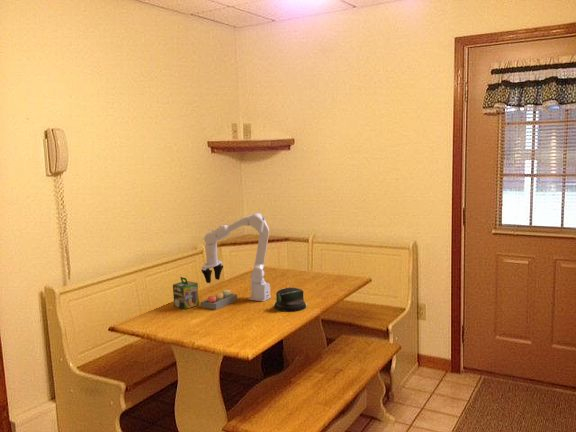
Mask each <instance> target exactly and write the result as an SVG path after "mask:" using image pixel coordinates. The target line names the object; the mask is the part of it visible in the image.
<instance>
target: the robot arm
mask: <svg viewBox="0 0 576 432" xmlns="http://www.w3.org/2000/svg"><path fill="white" fill-rule="evenodd" d="M243 226H247V227H249V226H250V227H252V228H253V229H255V230H256V231H257V232H258V234H259V235H258V243H257V249H256V254H255V261H254V265H253V269H252V272H251V273H250V277H249V278H250V291H251V292H250V293H251V294H250V295H251V296H250V297H248V298H247V299H248V300H251V301H256V302H257V301H259V302H265V301H267V300H269V299H271V298H272V296H271V285H270V283H269V282H266V279H265V278H264V277H265V274H266V272H265V261H266V256H267V255H266V254H267V248H268V241H269V237H270V228H269V226H268V224H267V221H266V218H265V217H264V215H263V214H261V213H260V212H254V213H253V214H249V215H247V216H244V217H242V218H240V219H237V220H236V221H234V222H233V223H231V224H229V225H226V224H224V225H223V224H221V225H219V227H218V228H215V229H212V230H211V231H210V232H208V233H206V234H205V236H204V238H203V239H204V242H205V253H206V257H205V258H206V262H204V264H203V265H201V269H200V270H201V273H202V275H203V277H204V278H205V283H207V284H211V282H212V280H211V279H212V273H213V271H214V278H215V280H220V279H221V273H222V270H223V269H224V265H223V260H218V259H219V258H218V245H217V244H218V241H220V240H222V239H224V238H226V237H228V236H230V234H231V232H233V231H234V230H237V229H238V228H241V227H243ZM212 268H213V270H212Z"/></svg>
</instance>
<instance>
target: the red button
mask: <svg viewBox="0 0 576 432" xmlns="http://www.w3.org/2000/svg"><path fill="white" fill-rule="evenodd" d="M207 299H208V302H209V303H215V302H216V296H215V295H211V296H210V295H209V296H208V297H207Z"/></svg>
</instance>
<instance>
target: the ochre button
mask: <svg viewBox="0 0 576 432" xmlns="http://www.w3.org/2000/svg"><path fill="white" fill-rule="evenodd" d="M214 296H216V299H218V300H221V299H223V293H222V292H216V293H215V294H214Z"/></svg>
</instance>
